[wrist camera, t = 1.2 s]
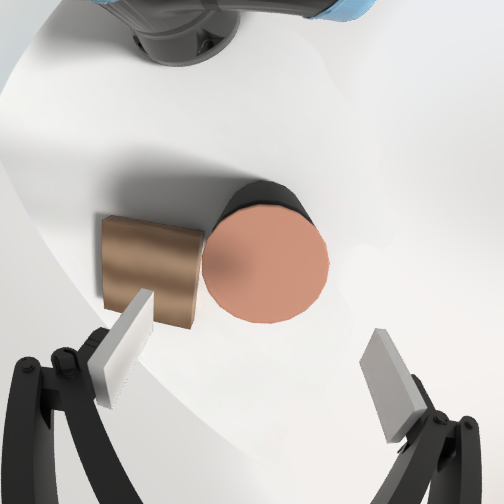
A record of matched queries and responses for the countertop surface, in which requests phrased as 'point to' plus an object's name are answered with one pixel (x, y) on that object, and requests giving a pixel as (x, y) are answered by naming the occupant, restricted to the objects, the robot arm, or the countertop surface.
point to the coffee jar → (265, 256)
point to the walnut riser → (151, 267)
